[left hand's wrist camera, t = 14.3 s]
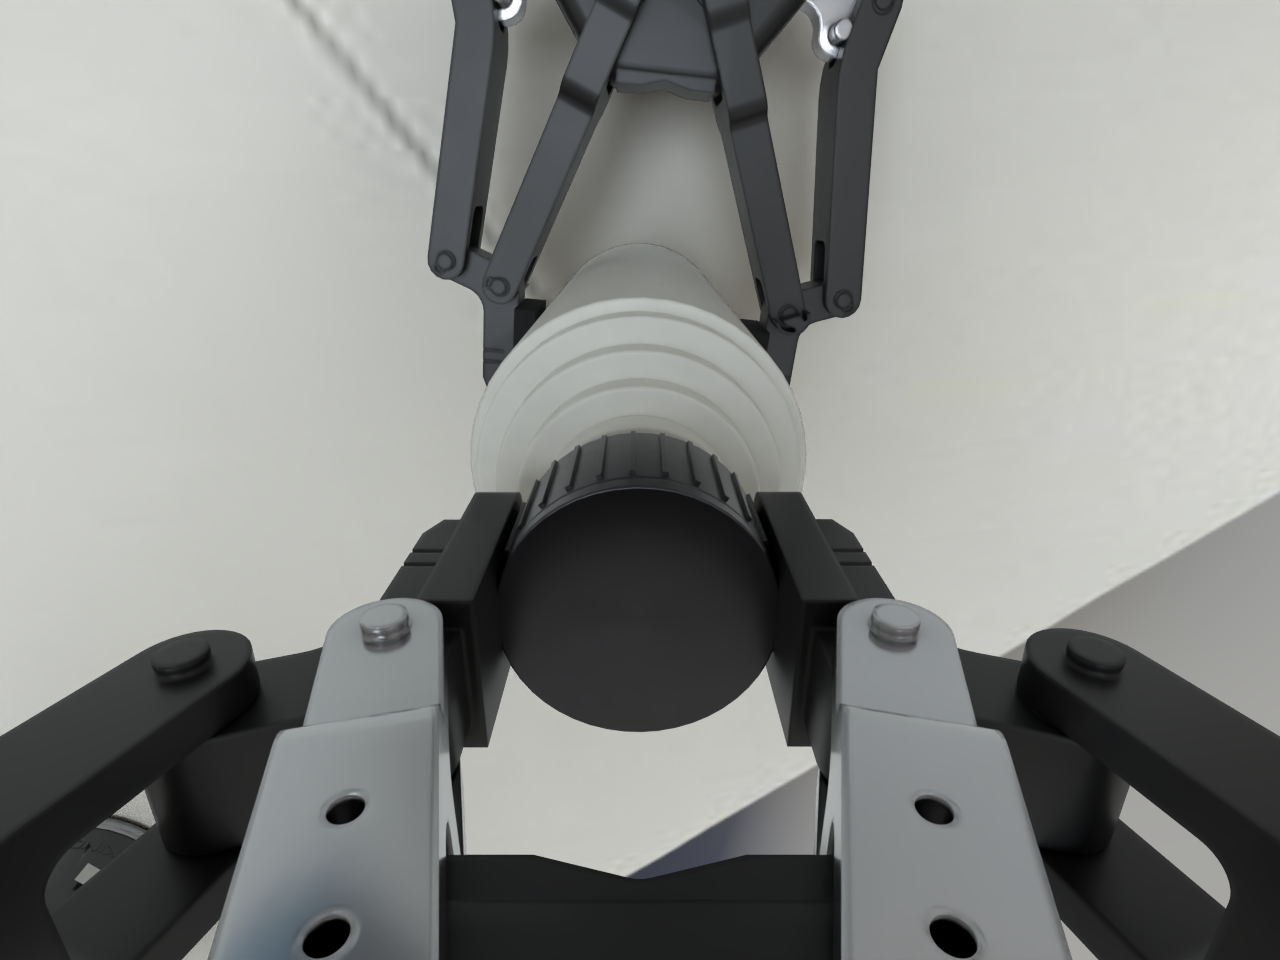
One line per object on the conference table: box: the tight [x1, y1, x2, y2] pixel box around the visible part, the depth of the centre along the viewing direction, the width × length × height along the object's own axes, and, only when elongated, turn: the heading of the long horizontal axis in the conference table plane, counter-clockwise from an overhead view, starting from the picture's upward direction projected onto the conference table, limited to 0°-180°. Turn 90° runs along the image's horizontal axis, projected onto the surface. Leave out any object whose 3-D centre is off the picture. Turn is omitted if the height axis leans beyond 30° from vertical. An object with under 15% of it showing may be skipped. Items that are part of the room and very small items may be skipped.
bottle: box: [471, 244, 806, 502], centre depth 21 cm, size 7×7×23 cm
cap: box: [497, 431, 779, 732], centre depth 11 cm, size 4×4×2 cm
